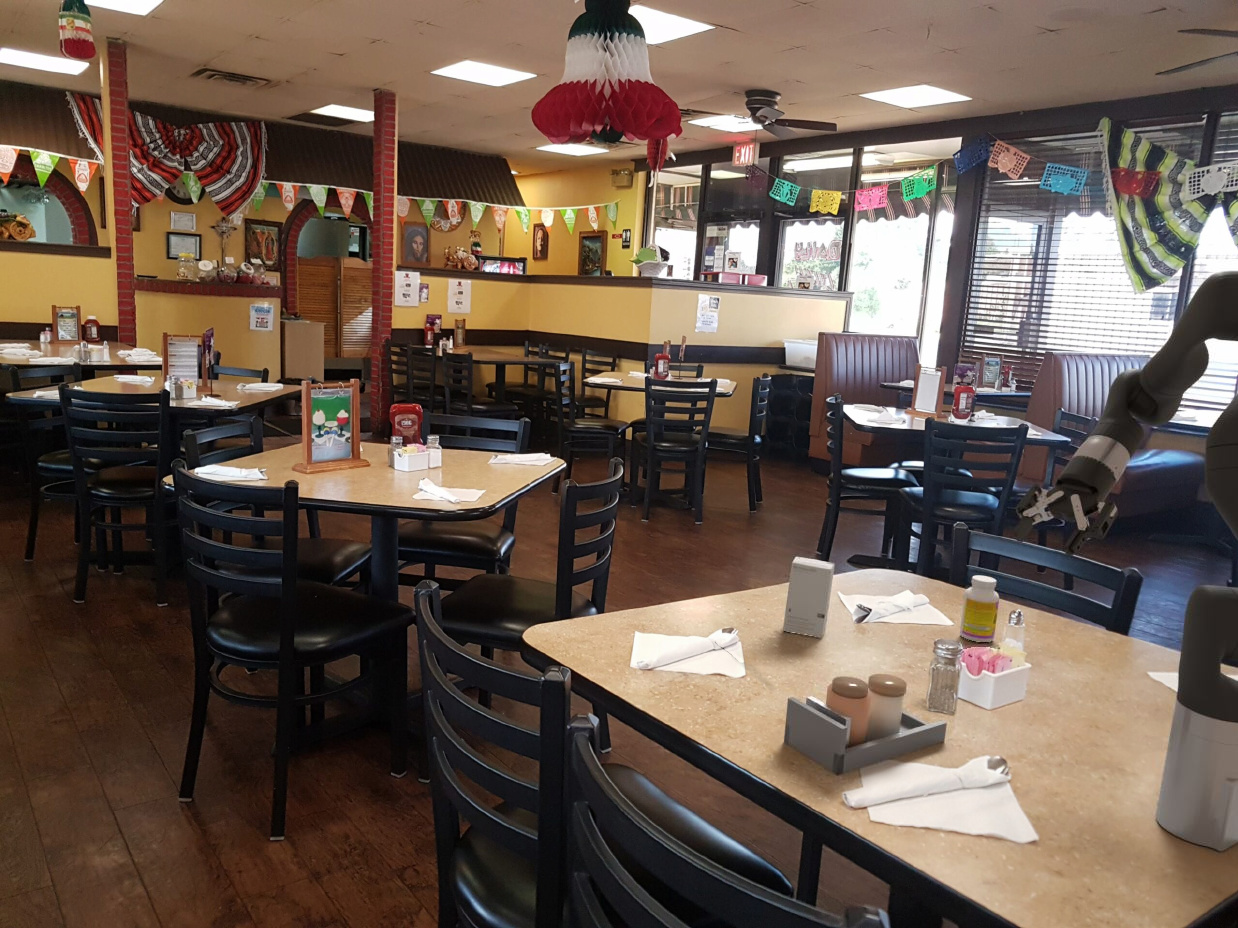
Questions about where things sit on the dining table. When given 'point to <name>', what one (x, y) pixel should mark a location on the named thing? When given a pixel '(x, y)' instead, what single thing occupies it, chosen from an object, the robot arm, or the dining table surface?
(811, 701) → the plate
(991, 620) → the supplement bottle
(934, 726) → the pusher lane
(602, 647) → the dining table surface
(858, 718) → the terracotta jar
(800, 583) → the skincare box
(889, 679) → the cream jar
